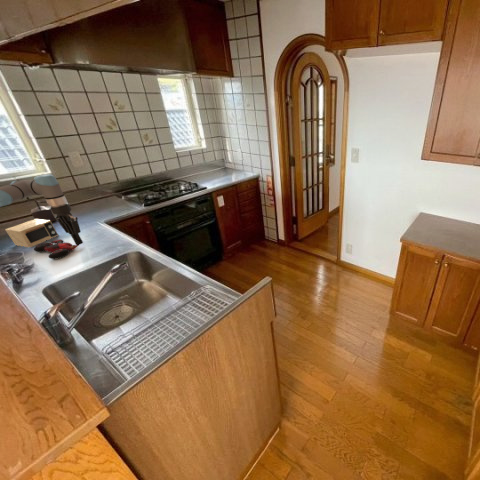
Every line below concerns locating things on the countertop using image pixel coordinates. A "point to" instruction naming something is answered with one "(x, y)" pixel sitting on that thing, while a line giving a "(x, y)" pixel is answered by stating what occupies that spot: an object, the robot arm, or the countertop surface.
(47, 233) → the mini oven
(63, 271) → the countertop surface
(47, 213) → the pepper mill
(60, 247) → the toy motorcycle
